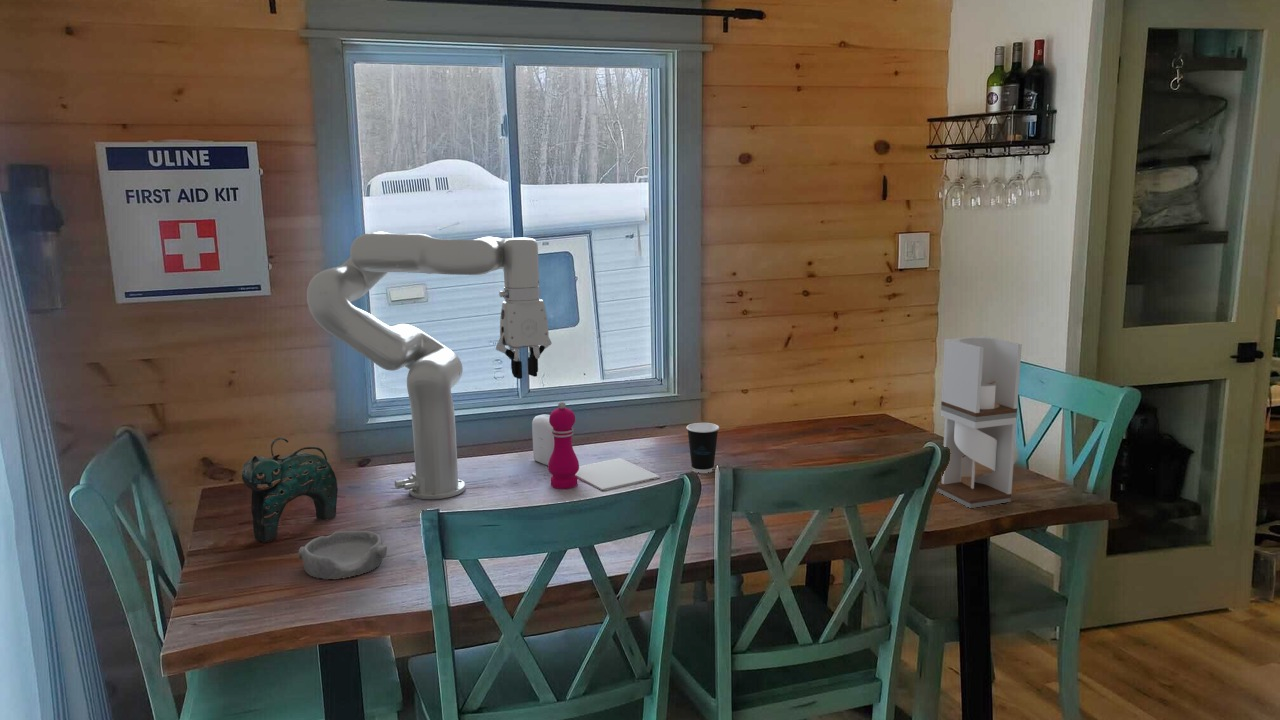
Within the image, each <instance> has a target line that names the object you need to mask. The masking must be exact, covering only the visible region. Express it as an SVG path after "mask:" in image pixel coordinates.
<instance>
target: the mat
mask: <svg viewBox="0 0 1280 720" xmlns="http://www.w3.org/2000/svg"><path fill="white" fill-rule="evenodd" d="M575 475H576V476H577V479H579V480H581V481H582V482H584V483H586V484H588V485H590V486H592V487H593V488H595V489H597V488H598V490H599V489H600V491H601V490H605V491H608V490H607V489H609V490H614V489H617V488H622V487H623V488H624V487H627V486H631V485H637V484H640V483H639V482H641V483H644V482H643V481H645V482H647V481H646V480H649V479H654V480H656V479H655V478H657V477H660V478H661V476H660V475H658V474H656V473H654V472H652V471H649V470H647V469H645V468H642V467H641V466H638V465H637V464H635V463H632V462H629V461H628V460H626V459H623V458H621V457H618V458H613V459H607V460H603V461H598V462H593V463H587V464H584V465H579V470H578V472H577V473H576V474H575Z"/></svg>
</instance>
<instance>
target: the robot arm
mask: <svg viewBox="0 0 1280 720" xmlns="http://www.w3.org/2000/svg"><path fill="white" fill-rule="evenodd" d="M349 253H350V254H349V255H350V257H349V258H348V259H347V260H345V261H344V263H342V264H341V265H338V266H334V267H330V268H327V269H324V270H321V271H319V272H318V273H317V274H315V275H314V276H313V277H312V278H311V280H310V281H309V284H308V286H307V289H306V302H307V306H308V307H307V308H308V310H309V313H310V314H311V317H312V318H313V319H314V321H315V322H316V323H317V324H318V325H319V326H320V327H321V328H322V329H323V330H325V331H326V332H327V333H328V334H330V335H331V336H333V337H335V338H336V339H338V340H340V341H342V342H343V343H344V344H346V345H347V346H349V347H350V348H352V350H354V351H355V352H357V353H359V354H360V355H361V356H364V357H365V358H366V359H368V360H369V361H370V362H372V363H374V364H375V365H376V366H378V367H379V368H381V369H383V370H385V371H389V372H390V371H392V372H393V371H398V370H400V369H402V368H407V369H408V372H407V376H406V389H407V393H408V398H409V404H410V412H411V424H412V425H411V426H412V436H413V437H412V439H413V440H412V441H413V453H414V454H413V455H414V471H415V472H413V471H412V472H411V476H408V477H407V478H405V479H403V478H402V479H397V480H395V481H394V487H395V489H396V490H399V489H404V490H405V491H407V490H409V494H410V495H411V496H412V497H413V498H417V499H419V500H420V499H422V500H442V499H447V498H448V499H449V498H453V497H455V496H458V495H460V494H462V493H463V492H464V491H466V483H465V481H463V480H462V479H459V471H458V469H459V468H458V449H457V447H458V446H457V431H456V416H455V407H454V401H453V396H452V388H453V387H454V386H455V385H457V383H458V382H459V381H460V379H461V378H462V376H463V369H464V368H463V363H462V361H461V359H460V357H459V356H458V354H456V353H455V351H453V350H452V349H450V348H449V347H447V346H446V345H444V344H442V343H441V342H440V341H438V340H436V339H435V338H434V337H432V336H430V335H429V334H427V333H425V332H424V331H422V330H421V329H420V328H417V327H415V326H413V325H411V324H409V323H398V324H393V325H389V324H386V323H384V322H382V321H381V320H379V319H378V318H377V317H375V316H374V315H373V314H371V313H369V312H367V311H366V310H363V309H361V308H359V307H357V306H355V305H354V304H352V302H355V301H358V300H359V299H360V298H362V297H363V296H364V295H366V294H367V293H368V292H369V291H370V290H371V289H372V288H374V286H375V285H376V284H378V282H379V281H381V279H383V278H384V277H385V276H386V274H389V273H408V274H409V273H413V274H415V273H416V274H428V275H431V274H433V275H434V274H436V275H437V274H438V275H448V276H449V275H452V276H453V275H454V276H455V275H456V276H482V275H486V274H489V273H490V272H494V271H497V270H503V277H504V279H503V280H504V282H503V283H504V287H503V290H500V291H499V293H498V295H499V298H503V299H504V301H502V303H501V310H500V319H499V340H498V342H497V344H496V347H495V350H496V351H498V352H500V353H502V354H504V355H505V356H507V357H508V358H509V360H511V363H510V364H511V374H512V375H513V378H515V379H518V380H521V379H522V378H523V363H522V361H521V360H520V352H521V351H520V349H521V348H528V352H529V356H528V357H527V374H528V375H529V376H532V377H538V372H539V359H540V357H541V354H542V353H543V352H544V351H545V350H546V349H547V348H549V347H550V346H551V345H552V340H551V339H550V335H549V323H548V317H547V316H548V315H547V311H546V305H545V301H544V300H543V299H540V275H539V273H540V271H539V246H538V242H537V240H536V239H534V238H531V237H511V238H504V237H503V238H501V237H494V236H484V237H480V238H476V239H475V238H474V239H447V238H446V239H445V238H435V237H432V236H430V235H428V234H426V233H425V234H423V233H389V232H387V231H386V232H385V231H375V232H367V233H364V234H361V235H359V236H357V237H356V238H355V239H354V240H353V242H352V244H351V245H350V249H349ZM506 346H507V347H508V348H507V347H506Z"/></svg>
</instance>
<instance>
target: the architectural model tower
mask: <svg viewBox="0 0 1280 720" xmlns="http://www.w3.org/2000/svg"><path fill="white" fill-rule="evenodd" d="M943 344H944V347H943V364H942V365H943V366H942V385H941V402H940V403H941V404H940V405H941V406H940V416H941V417H943V418H944V427H943V429H944V430H943V446H944V447H948V448H949V449H950V453H951V454H950V461H949V464H948V466H947V468H946V470H945V471H944V474H943V476H942V475H941V483H938V484H939V486H938V489H937V488H936V493H937V492H938V491H939V493H941V494H943V495H945V496H947V497H949V498H951V499H953V500H955V501H957V502H959V503H961V504H963V505H965V506H966V507H965V506H964V507H965V508H967V507H969V508H974V507H980V506H987V505H993V504H998V503H1005V502H1011V503H1012V490H1013V477H1014V461H1015V460H1014V459H1015V446H1016V433H1017V419H1018V418H1017V417H1018V405H1019V404H1018V402H1019V389H1020V388H1019V387H1020V373H1021V361H1022V345H1023V344H1021V343H1018V342H1017V343H1016V342H1012V341H1009V340H1004V339H999V338H995V337H991V336H987V335H981V336H980V335H979V336H970V337H956V338H944V343H943ZM939 493H938V494H939ZM941 494H940V495H941ZM943 495H942V496H943ZM945 496H944V497H945ZM947 497H946V498H947ZM949 498H948V499H949ZM951 499H950V500H951ZM953 500H952V501H953ZM955 501H954V502H955ZM957 502H956V503H957ZM959 503H958V504H959ZM961 504H960V505H961ZM963 505H962V506H963ZM987 507H988V506H987ZM969 508H968V509H969ZM974 509H975V508H974Z"/></svg>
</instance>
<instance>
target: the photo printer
mask: <svg viewBox="0 0 1280 720" xmlns="http://www.w3.org/2000/svg"><path fill="white" fill-rule="evenodd" d="M549 417H550V414H539V415H535V417H533V420H532V421H531V427H532V428H531V432H532V433H531V434H532V453H533V460H534V461H536V462H538V463H540V464H543V465H545V466H548V463H549V459H550V457H551V455H552V453H553V449H554V436H552V429H553V427H552V426H551V425H550V423H549Z"/></svg>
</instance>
